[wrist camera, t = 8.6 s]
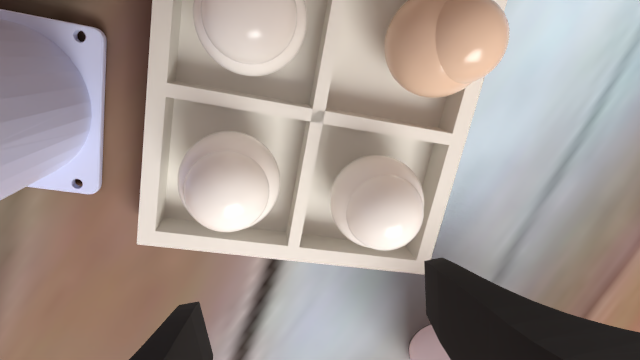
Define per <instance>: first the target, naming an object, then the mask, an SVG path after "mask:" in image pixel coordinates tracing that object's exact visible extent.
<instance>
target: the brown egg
mask: <svg viewBox="0 0 640 360" xmlns="http://www.w3.org/2000/svg"><path fill="white" fill-rule="evenodd" d="M508 41H509V24H508V20H507V18H506V15H505V13H504V11H503V10H502V8H501V7H500V6H499V5H498V4H497V3H496V2H495V1H494V0H408V1H407V2H405V3H404V4H403V5H402V6H401V7H400V8H399V10H398V11H397V12H396V14H395V15H394V16H393V18H392V20H391V22H390V24H389V27H388V29H387V32H386V37H385V44H384V53H385V59H386V63H387V66H388V68H389V71H390V73H391V75H392V76H393V78H394V79H395V80H396V81H397V82H398V83H399V84H400V86H402V87H403V88H404V89H406V90H407V91H409V92H411V93H413V94H416V95H418V96H422V97H428V98H439V97H445V96H449V95H452V94H455V93H457V92H459V91H461V90H463V89H464V88H466V87H467V86H469V85H470V84H471V83H472V82H474V81H477V80H479V79H481V78H483V77H484V76H486V75H487V74H489V73H490V72H491V71H492V70H493V69H494V68H495V67H496V66H497V65H498V64H499V62H500V61H501V59H502V58H503V56H504V54H505V52H506V49H507V46H508Z"/></svg>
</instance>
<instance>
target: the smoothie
mask: <svg viewBox="0 0 640 360" xmlns="http://www.w3.org/2000/svg"><path fill="white" fill-rule="evenodd" d="M409 355H410V358H411V360H451V359H450V358H449V356H448V355H447V353H446V351H445V350H444V348H443V347H442V345H441V343H440V342H439V340H438V338H437V336H436V333H435V331H434V329H433V327H432V325H428V326H426V327H424V328H423V329H421V330H420V331H419V332H417V333H416V335H415V336H414V337H413V339H412V340H411V343H410V346H409Z"/></svg>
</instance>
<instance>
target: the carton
mask: <svg viewBox="0 0 640 360" xmlns="http://www.w3.org/2000/svg"><path fill="white" fill-rule="evenodd" d="M304 1H305V5H306V10H307V29H306V34H305V38H304V40H303V43H302V45H301V47H300V49H299V51H298V53H297V54H296V55H295V57H294V58H293V59H292V60H291V61H290V62H289V63H288V64H287V65H286V66H284V67H283V68H281V69H280V70H278V71H276V72H273V73H271V74H267V75H263V76H245V75H241V74H237V73H234V72H232V71H229V70H228V69H226V68H224V67H222V66H221V65H220V64H218V63H217V62H216V61H215V60H214V59H213V58H212V57H211V56H210V55H209V54H208V53H207V52H206V50H205V49H204V47H203V46H202V44H201V42H200V40H199V38H198V35H197V32H196V30H195V25H194V19H193V3H194V0H152V15H151V31H150V46H149V62H148V78H147V93H146V109H145V124H144V140H143V156H142V171H141V187H140V203H139V218H138V234H137V244H139V245H149V246H158V247H168V248H177V249H187V250H196V251H205V252H215V253H224V254H234V255H243V256H252V257H262V258H271V259H281V260H290V261H300V262H309V263H318V264H328V265H337V266H347V267H356V268H366V269H375V270H384V271H394V272H403V273H413V274H422V275H425V267H424V261H427V260H431V257H432V253H433V250H434V247H435V243H436V240H437V236H438V233H439V230H440V226H441V223H442V220H443V216H444V213H445V209H446V206H447V203H448V199H449V196H450V192H451V189H452V186H453V182H454V179H455V176H456V172H457V169H458V165H459V162H460V159H461V155H462V152H463V148H464V145H465V142H466V138H467V135H468V132H469V128H470V125H471V121H472V118H473V115H474V111H475V108H476V105H477V101H478V98H479V94H480V91H481V88H482V84H483V81H484V77H485V76H484V77H483V78H481V79H479V80H477V81H474V82H472V83H471V84H470V85H469V86H467V87H466V88H464V89H463V90H461V91H459V92H457V93H455V94H452V95H449V96H445V97H439V98H428V97H422V96H418V95H416V94H413V93H411V92H409V91H407V90H406V89H404V88H403V87H402V86H400V84H399V83H398V82H397V81H396V80H395V79H394V78H393V76H392V75H391V73H390V71H389V68H388V66H387V63H386V59H385V53H384V44H385V37H386V32H387V29H388V27H389V24H390V22H391V20H392V18H393V16H394V15H395V14H396V12H397V11H398V10H399V8H400V7H401V6H402V5H403V4H404V3H405V2H407V1H408V0H304ZM494 1H495V2H496V3H497V4H498V5H499V6H500V7H501V8H502V10H503V11H504V10H505V6H506V3H507V0H494ZM222 131H235V132H241V133H245V134H247V135H250V136H252V137H254V138H256V139H257V140H259V141H260V142H262V143H263V144H264V145H265V146H266V147H267V148H268V149H269V150H270V152H271V153H272V155H273V156H274V158H275V160H276V162H277V165H278V168H279V172H280V190H279V194H278V197H277V200H276V202H275V204H274V206H273V208H272V209H271V210H270V212H269V213H268V214H267V215H266V216H265V217H264V218H263V219H262V220H261V221H259V222H258V223H256V224H254V225H253V226H251V227H248V228H246V229H242V230H239V231H234V232H218V231H214V230H211V229H209V228H206V227H205V226H203V225H201V224H200V223H199V222H197V221H196V220H195V219H194V218H193V217H192V216H191V215H190V213H189V212H188V211H187V210H186V208H185V206H184V205H183V203H182V200H181V198H180V195H179V191H178V185H177V183H178V171H179V167H180V164H181V162H182V160H183V158H184V156H185V154H186V153H187V151H188V150H189V149H190V148H191V147H192V146H193V145H194V144H195V143H196V142H197V141H199V140H200V139H202V138H204V137H205V136H208V135H210V134H213V133H216V132H222ZM368 155H385V156H389V157H393V158H395V159H397V160H399V161H401V162H403V163H404V164H406V165H407V166H408V167H409V168H410V169H411V170H412V171H413V172H414V173H415V175H416V176H417V178H418V180H419V182H420V184H421V186H422V189H423V194H424V217H423V222H422V225H421V228H420V230H419V232H418V233H417V235H416V236H415V237H414V238H413V239H412V240H411V241H410V242H409V243H407V244H406V245H404V246H402V247H400V248H397V249H394V250H387V251H383V250H375V249H372V248H368V247H364V246H361V245H358V244H356V243H354V242H352V241H351V240H349V239H348V238H347V237H346V236H345V235H344V234H343V233H342V232H341V231H340V230H339V229H338V227H337V225H336V224H335V222H334V220H333V217H332V214H331V210H330V193H331V188H332V185H333V183H334V181H335V179H336V177H337V175H338V174H339V173H340V172H341V170H342V169H343V168H344V167H345V166H347V165H348V164H349V163H351V162H352V161H354V160H356V159H358V158H361V157H364V156H368Z"/></svg>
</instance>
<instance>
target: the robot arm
mask: <svg viewBox="0 0 640 360" xmlns="http://www.w3.org/2000/svg"><path fill="white" fill-rule="evenodd" d="M80 31H83V32H84V33H85V35H86V39H85V41H84V42H80V41H79V39H78V37H77V35H78V32H80ZM106 45H107V40H106V36H105V34H104V33H103V32H102V31H101V30H100V29H98V28H95V27H90V26H85V25H80V24H75V23H70V22H65V21H60V20H54V19H49V18H44V17H39V16H34V15H29V14H24V13H19V12H13V11H8V10H3V9H0V200H2V199H4V198H5V197H7V196H9V195H11V194H13V193H15V192H17V191H19V190H21V189H22V188H24V187H34V188H42V189H50V190H58V191H66V192H74V193H82V194H94V193H96V192H97V191H98V190H99V189H100V188H101V185H102V159H103V130H104V102H105V73H106ZM75 179H79V180H81V181H82V183H83V186H78V185H77V184H76V182H75ZM424 267H425V290H426V312H427V316H428V318H429V321H430V323H431V325H432V327H433V329H434V331H435V333H436V336H437V338H438V340H439V342H440V343H441V345H442V347H443V348H444V350H445V351H446V353H447V355H448V356H449V358H450V359H451V360H640V333H639V332H635V331H630V330H625V329H621V328H617V327H613V326H609V325H605V324H601V323H598V322H594V321H591V320H587V319H584V318H580V317H577V316H574V315H571V314H567V313H564V312H562V311H559V310H556V309H553V308H550V307H548V306H545V305H542V304H539V303H537V302H534V301H532V300H529V299H527V298H525V297H522V296H520V295H518V294H515V293H513V292H511V291H509V290H506V289H504V288H502V287H500V286H498V285H496V284H494V283H492V282H490V281H488V280H486V279H484V278H482V277H480V276H478V275H476V274H474V273H472V272H470V271H468V270H466V269H464V268H463V267H461V266H459V265H457V264H455V263H453V262H451V261H449V260H446V259H444V258H438V259H432V260H427V261H424ZM129 360H213V353H212V349H211V345H210V341H209V338H208V334H207V330H206V326H205V322H204V318H203V315H202V311H201V307H200V303H199V302H194V303H188V304H183V305H179V306H178V307H177V308H176V309H175V310H174V311H173V312H172V313H171V314H170V316H169V317H168V318H167V319H166V320H165V321H164V322H163V323H162V325H161V326H160V327H159V328H158V329H157V330H156V331H155V332H154V334H153V335H152V336H151V337H150V338H149V339H148V340H147V341H146V342H145V344H144V345H143V346H142V347H141V348H140V349H139V350H138V351H137V352H136V353H135V354H134V355H133V356H132V357H131V358H130V359H129Z"/></svg>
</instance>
